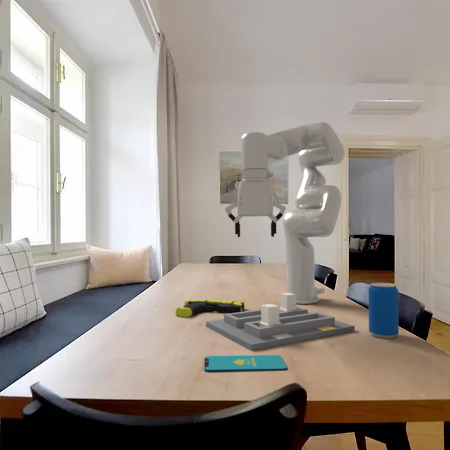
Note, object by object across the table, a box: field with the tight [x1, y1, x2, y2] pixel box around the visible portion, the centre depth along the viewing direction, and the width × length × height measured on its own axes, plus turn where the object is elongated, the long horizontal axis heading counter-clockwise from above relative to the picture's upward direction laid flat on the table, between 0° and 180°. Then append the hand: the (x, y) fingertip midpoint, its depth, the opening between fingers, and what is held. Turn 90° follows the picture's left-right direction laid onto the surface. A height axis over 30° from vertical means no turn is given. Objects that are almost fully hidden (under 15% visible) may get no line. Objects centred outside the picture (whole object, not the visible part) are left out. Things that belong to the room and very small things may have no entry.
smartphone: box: [203, 354, 288, 373], centre depth 70 cm, size 7×1×15 cm
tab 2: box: [279, 292, 298, 312], centre depth 102 cm, size 4×3×6 cm
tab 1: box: [259, 303, 281, 327], centre depth 87 cm, size 4×3×6 cm
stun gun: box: [175, 298, 245, 318], centre depth 113 cm, size 3×19×15 cm
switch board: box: [205, 305, 355, 351], centre depth 95 cm, size 30×22×3 cm
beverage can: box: [368, 282, 400, 339], centre depth 88 cm, size 6×6×12 cm
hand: (255, 236), depth 107 cm, fingers open, 9 cm apart
